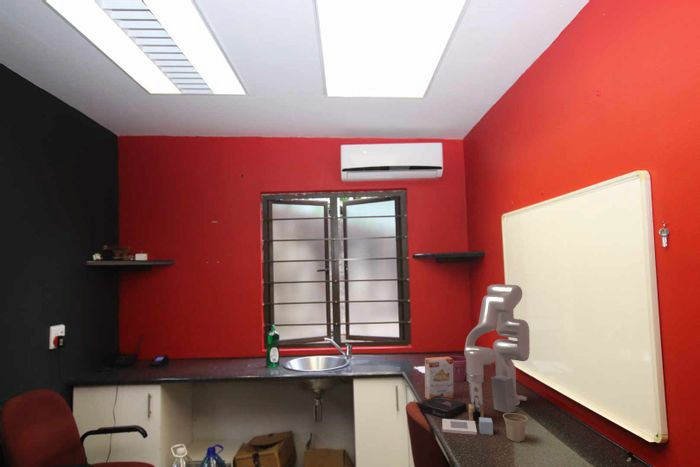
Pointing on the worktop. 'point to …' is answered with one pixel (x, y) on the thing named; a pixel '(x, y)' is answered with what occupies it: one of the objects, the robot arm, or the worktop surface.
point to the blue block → (486, 426)
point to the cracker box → (439, 377)
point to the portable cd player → (442, 407)
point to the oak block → (472, 412)
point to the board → (459, 426)
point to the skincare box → (503, 394)
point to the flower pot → (515, 426)
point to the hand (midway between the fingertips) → (476, 417)
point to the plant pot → (459, 368)
